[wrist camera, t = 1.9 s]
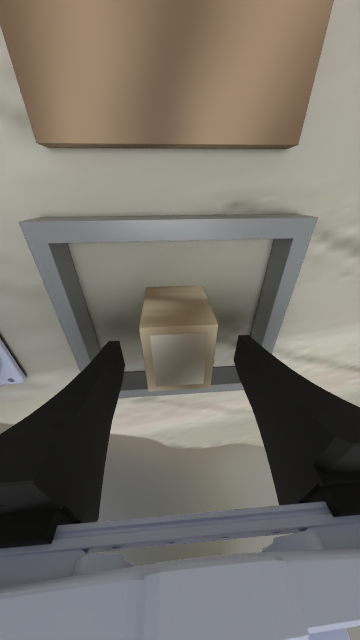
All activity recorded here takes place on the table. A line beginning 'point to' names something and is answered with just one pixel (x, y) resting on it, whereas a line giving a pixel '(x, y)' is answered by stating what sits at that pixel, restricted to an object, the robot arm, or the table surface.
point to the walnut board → (165, 70)
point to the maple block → (177, 338)
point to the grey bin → (55, 232)
